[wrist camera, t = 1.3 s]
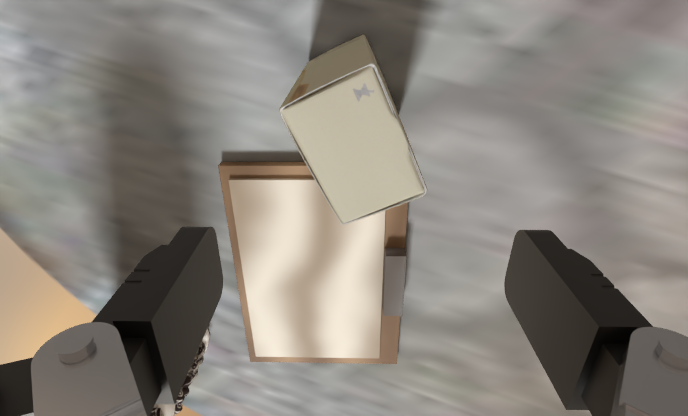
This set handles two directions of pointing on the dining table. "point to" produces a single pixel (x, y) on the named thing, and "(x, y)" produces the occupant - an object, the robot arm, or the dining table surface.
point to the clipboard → (312, 269)
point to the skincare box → (352, 133)
